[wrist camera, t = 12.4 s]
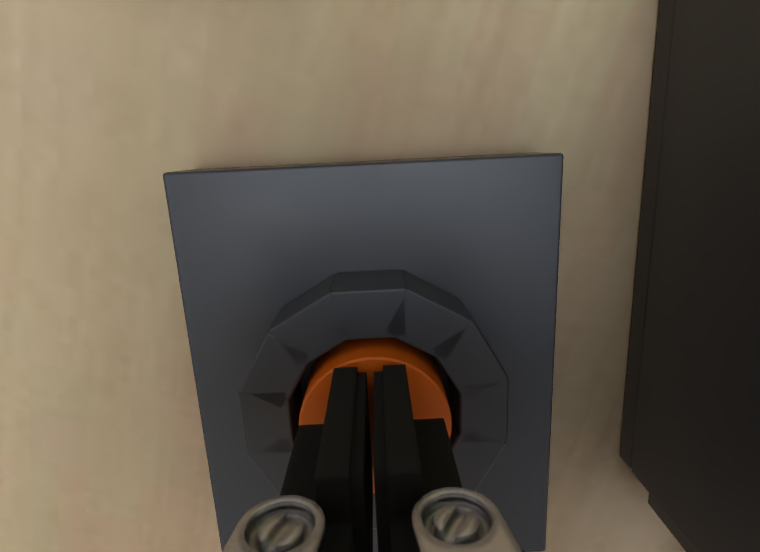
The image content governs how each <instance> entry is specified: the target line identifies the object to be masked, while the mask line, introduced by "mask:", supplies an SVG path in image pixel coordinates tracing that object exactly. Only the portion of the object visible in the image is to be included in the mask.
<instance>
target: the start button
mask: <svg viewBox="0 0 760 552" xmlns="http://www.w3.org/2000/svg"><path fill="white" fill-rule="evenodd" d="M400 364H405V365H406V372H407V378H408V385H409V392H410V398H411V405H412V412H413V418H414V419H432V418H444V421H445V424H446V428H447V432H448V435H449V439H450V436H451V430H452V418H451V412H450V407H449V404H448V400H447V397H446V393H445V390H444V387H443V383H442V380H441V377H440V373H439V371H438V368H437V366H436V364H435V363H434V361H433V359H432V358H431V357H430V355H429V354H428V353H426V352H424V351H422V350H420V349H418V348H416V347H414V346H411V345H409V344H407V343H405V342H403V341H401V340H399V339H397V338H395V337H389V338H369V339H349V340H346V341H344V342H342V343H341V344H339V345H337V346H336V347H334V348H333V349H331V350H329V351H328V352H326V353H324V354H323V355H321V356H320V357H319V359H318V360H317V362H316V364H315V365H314V367H313V370H312V372H311V375H310V378H309V382H308V385H307V389H306V393H305V396H304V400H303V403H302V407H301V411H300V416H299V426H300V425H311V424H324V420H325V414H326V409H327V403H328V397H329V392H330V386H331V381H332V375H333V369H334V368H339V367H357V369H358V373H363V372H366V373H367V388H368V405H369V421H370V438H371V455H372V472H373V493H375V487H374V372H383V365H400Z"/></svg>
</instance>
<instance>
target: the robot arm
mask: <svg viewBox="0 0 760 552" xmlns="http://www.w3.org/2000/svg"><path fill="white" fill-rule="evenodd" d="M374 487H375V505H376V522H377V539H378V552H525V551H524V550H522V549H521V548H520V547H519V545H518V543H517V541H516V540H515V538H514V536H513V534H512V532H511V531H510V529H509V527H508V525H507V524H506V522H505V520H504V518H503V516H502V515H501V513H500V511H499V510H498V508H497V507H496V506H495V505H494V503H493V502H492V501H491V500H490V499H488V498H487V497H485V496H484V495H482V494H481V493H478V492H476V491H473V490H471V489H466V488H462V485H461V481H460V477H459V474H458V470H457V466H456V462H455V458H454V455H453V451H452V447H451V443H450V439H449V435H448V432H447V428H446V424H445V421H444V418H432V419H414V418H413V412H412V405H411V398H410V392H409V385H408V378H407V372H406V365H405V364H400V365H383V372H374ZM222 552H373V472H372V455H371V438H370V421H369V405H368V388H367V373H366V372H363V373H358V369H357V367H339V368H334V369H333V375H332V381H331V386H330V392H329V397H328V403H327V409H326V414H325V420H324V424H311V425H300V426H299V427H298V430H297V434H296V437H295V441H294V445H293V449H292V452H291V456H290V460H289V464H288V467H287V471H286V475H285V478H284V482H283V486H282V490H281V493H280V496H278V497H274V498H270V499H267V500H265V501H263V502H261V503H259V504H257V505H255V506H254V507H253V508H252V509H250V510H249V511H248V512H246V513H245V515H244V516H243V517H242V518H241V520H240V521H239V522H238V524H237V526H236V527H235V529H234V531H233V533H232V535H231V536H230V538H229V540H228V542H227V544H226V545H225V547H224V549H223V551H222Z"/></svg>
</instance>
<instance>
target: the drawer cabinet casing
mask: <svg viewBox="0 0 760 552" xmlns="http://www.w3.org/2000/svg"><path fill="white" fill-rule="evenodd" d="M620 456H621V458H622V459H623V460H624V461H625V463H626V464H627V465H628V466H629V468H631V470H632V472H633V473H634V474H635V476H636V477H637V478H638V479H639V481H640V482H641V483H642V484H643V486H644V487H645V488H646V489H647V491H648V492H649V493H650V494H651V496H652V497H653V498H654V499H655V501H656V502H657V503H658V504H659V506H660V507H661V508H662V509H663V510H664V512H665V513H666V514H667V515H668V517H669V518H670V519H671V520H672V522H673V523H674V524H675V525H676V527H677V528H678V529H679V530H680V532H681V533H682V534H683V535H684V537H685V538H686V539H687V540H688V542H689V543H690V544H691V545H692V547H693V548H694V549H695V550H696V552H760V0H660V5H659V17H658V28H657V39H656V51H655V62H654V73H653V85H652V96H651V108H650V119H649V130H648V142H647V153H646V164H645V176H644V187H643V199H642V210H641V221H640V233H639V244H638V255H637V267H636V278H635V290H634V301H633V312H632V324H631V335H630V346H629V358H628V369H627V380H626V392H625V403H624V415H623V426H622V437H621V449H620Z"/></svg>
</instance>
